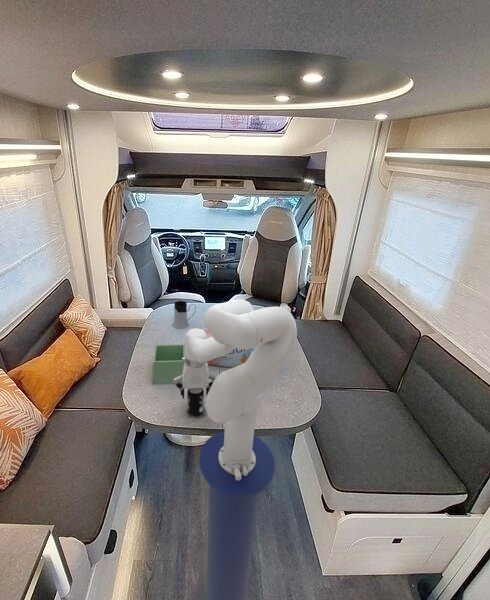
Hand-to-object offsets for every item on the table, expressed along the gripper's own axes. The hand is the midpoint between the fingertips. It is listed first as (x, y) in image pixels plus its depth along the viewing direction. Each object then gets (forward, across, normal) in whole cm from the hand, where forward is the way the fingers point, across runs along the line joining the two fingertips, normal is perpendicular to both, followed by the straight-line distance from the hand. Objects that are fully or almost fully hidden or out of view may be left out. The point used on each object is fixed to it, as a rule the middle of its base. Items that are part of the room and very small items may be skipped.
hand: (195, 395), depth 125 cm
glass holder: (+9, -3, +77) cm, 78 cm away
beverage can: (+8, 0, 0) cm, 8 cm away
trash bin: (+8, -11, +26) cm, 30 cm away
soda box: (+8, +21, +35) cm, 42 cm away
